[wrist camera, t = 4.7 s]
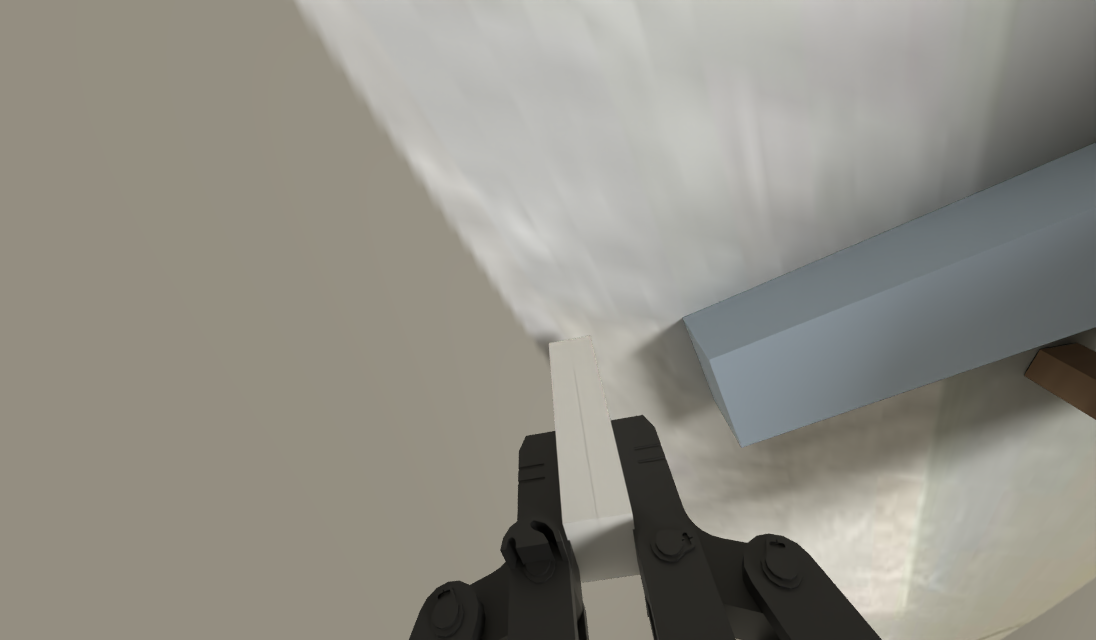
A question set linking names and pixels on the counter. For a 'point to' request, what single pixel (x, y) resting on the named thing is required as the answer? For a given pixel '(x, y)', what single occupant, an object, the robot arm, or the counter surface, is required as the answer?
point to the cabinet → (1067, 375)
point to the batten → (908, 304)
